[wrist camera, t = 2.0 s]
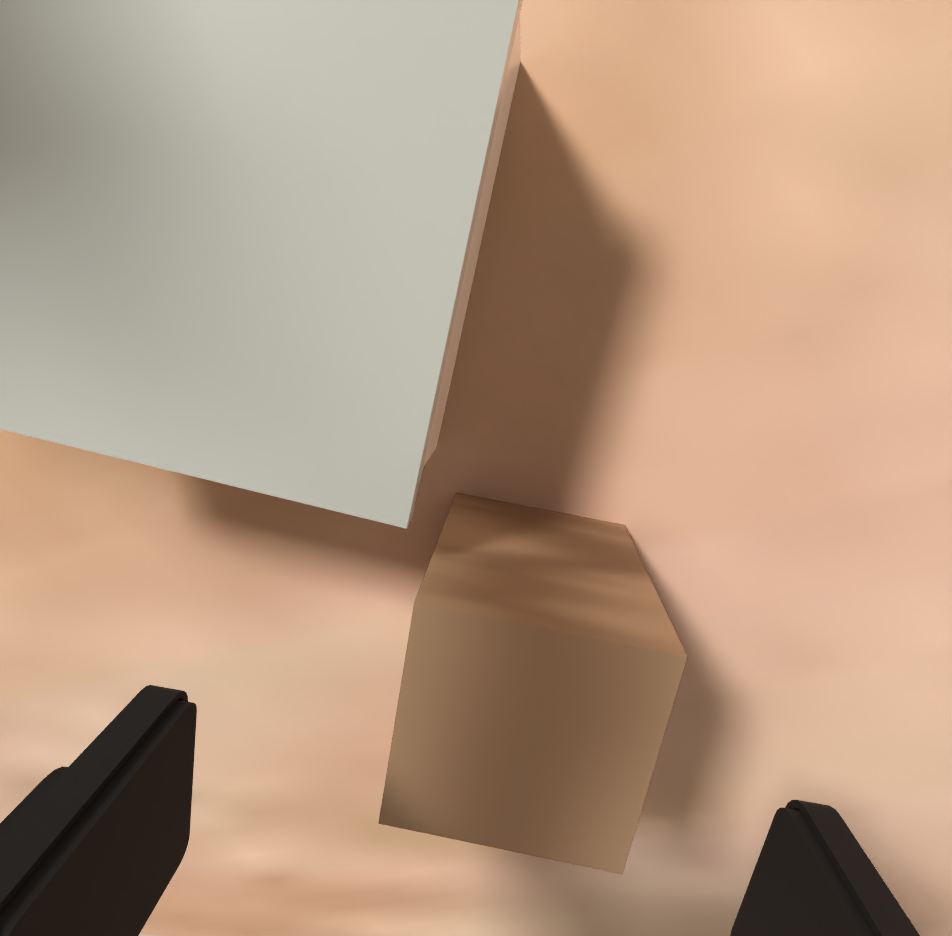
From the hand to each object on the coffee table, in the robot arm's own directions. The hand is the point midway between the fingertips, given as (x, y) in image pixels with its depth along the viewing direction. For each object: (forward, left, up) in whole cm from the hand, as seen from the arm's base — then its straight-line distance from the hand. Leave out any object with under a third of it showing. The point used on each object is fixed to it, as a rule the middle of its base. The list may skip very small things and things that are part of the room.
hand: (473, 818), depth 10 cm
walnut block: (-1, 0, -9) cm, 9 cm away
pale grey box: (+7, -9, -9) cm, 15 cm away
